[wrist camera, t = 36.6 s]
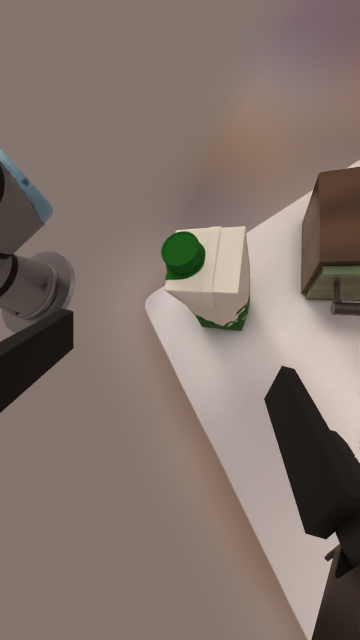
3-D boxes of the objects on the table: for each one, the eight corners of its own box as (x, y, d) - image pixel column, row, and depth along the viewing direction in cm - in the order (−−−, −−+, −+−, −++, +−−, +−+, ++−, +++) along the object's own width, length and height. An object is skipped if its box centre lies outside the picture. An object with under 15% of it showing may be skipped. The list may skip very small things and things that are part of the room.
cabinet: (390, 295, 31) (450, 259, 22) (300, 293, 35) (319, 261, 26) (383, 217, 35) (433, 155, 25) (302, 223, 38) (319, 172, 29)
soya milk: (203, 287, 41) (165, 212, 23) (251, 289, 38) (253, 204, 20) (196, 331, 39) (149, 287, 21) (247, 336, 36) (244, 291, 18)
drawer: (392, 329, 29) (442, 311, 22) (306, 324, 33) (323, 306, 25) (383, 226, 33) (423, 179, 26) (307, 231, 37) (322, 191, 29)
